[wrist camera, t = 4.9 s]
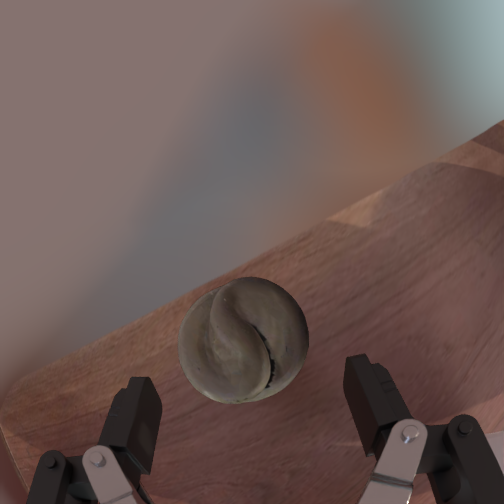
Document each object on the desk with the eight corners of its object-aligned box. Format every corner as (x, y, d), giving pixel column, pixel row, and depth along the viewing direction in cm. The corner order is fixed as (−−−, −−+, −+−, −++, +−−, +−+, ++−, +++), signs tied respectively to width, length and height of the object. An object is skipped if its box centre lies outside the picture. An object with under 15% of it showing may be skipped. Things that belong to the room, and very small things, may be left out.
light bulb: (253, 399, 23) (233, 439, 9) (209, 353, 25) (137, 330, 11) (301, 354, 24) (345, 333, 10) (256, 310, 26) (243, 235, 12)
